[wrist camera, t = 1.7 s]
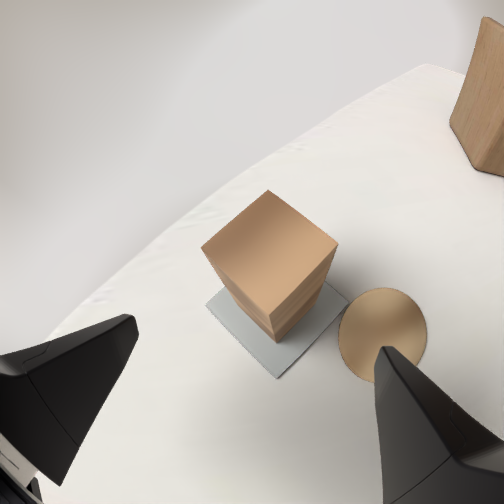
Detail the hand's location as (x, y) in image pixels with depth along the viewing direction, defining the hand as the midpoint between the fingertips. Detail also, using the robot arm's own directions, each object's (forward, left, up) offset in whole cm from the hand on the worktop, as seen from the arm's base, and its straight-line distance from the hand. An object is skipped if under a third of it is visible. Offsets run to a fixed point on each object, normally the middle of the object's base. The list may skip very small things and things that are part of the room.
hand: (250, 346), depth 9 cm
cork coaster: (-5, -7, -11) cm, 15 cm away
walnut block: (+3, -3, -11) cm, 12 cm away
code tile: (+3, -3, -11) cm, 12 cm away
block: (-5, -39, -12) cm, 41 cm away
